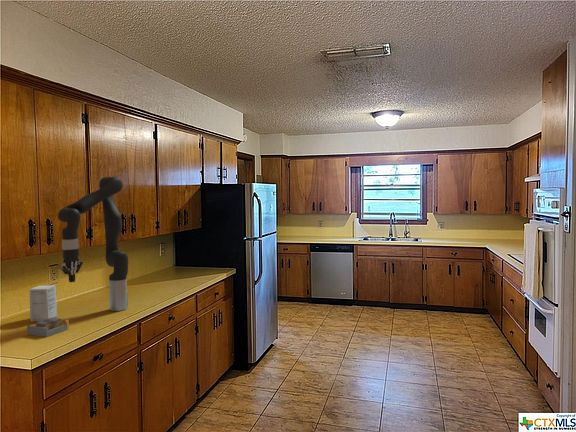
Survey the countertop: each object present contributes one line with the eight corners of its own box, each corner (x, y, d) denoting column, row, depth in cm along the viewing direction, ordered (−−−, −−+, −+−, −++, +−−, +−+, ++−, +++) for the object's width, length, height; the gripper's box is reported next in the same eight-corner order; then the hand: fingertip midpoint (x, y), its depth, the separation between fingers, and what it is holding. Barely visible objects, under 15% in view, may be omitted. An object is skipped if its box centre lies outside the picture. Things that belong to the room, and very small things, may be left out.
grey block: (52, 328, 207) (51, 317, 207) (61, 330, 205) (61, 318, 205) (35, 334, 198) (35, 322, 198) (45, 335, 196) (45, 323, 196)
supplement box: (57, 316, 228) (56, 285, 228) (48, 321, 219) (47, 288, 218) (39, 316, 228) (38, 285, 227) (29, 321, 219) (28, 289, 218)
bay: (49, 326, 210) (49, 317, 210) (69, 329, 206) (68, 320, 206) (27, 334, 198) (26, 325, 198) (46, 337, 194) (46, 327, 194)
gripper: (75, 246, 221) (76, 278, 222) (53, 249, 209) (55, 284, 210) (86, 246, 219) (88, 279, 220) (65, 250, 206) (67, 285, 207)
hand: (72, 281), depth 215 cm, fingers closed
